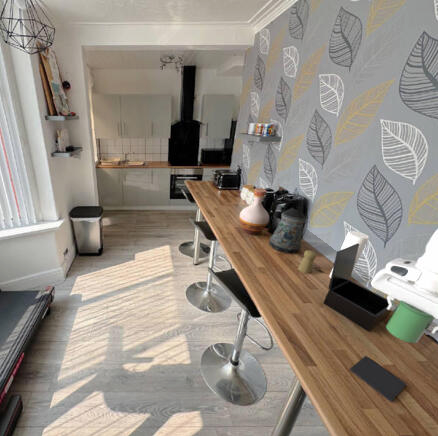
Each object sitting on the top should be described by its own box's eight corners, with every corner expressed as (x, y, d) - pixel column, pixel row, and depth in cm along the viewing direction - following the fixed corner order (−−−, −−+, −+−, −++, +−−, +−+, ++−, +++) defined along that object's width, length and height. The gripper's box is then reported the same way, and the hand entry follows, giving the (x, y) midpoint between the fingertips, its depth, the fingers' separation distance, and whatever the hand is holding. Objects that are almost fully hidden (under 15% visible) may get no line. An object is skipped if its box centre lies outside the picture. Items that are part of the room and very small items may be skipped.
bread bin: (386, 318, 92) (395, 303, 89) (367, 333, 86) (376, 317, 83) (342, 293, 105) (348, 279, 102) (322, 304, 98) (328, 289, 95)
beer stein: (271, 251, 137) (282, 211, 127) (266, 236, 154) (275, 200, 144) (302, 256, 133) (317, 215, 122) (294, 240, 150) (306, 204, 140)
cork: (299, 265, 125) (306, 247, 120) (312, 270, 121) (320, 252, 116) (296, 269, 121) (302, 251, 116) (309, 275, 117) (317, 256, 112)
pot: (423, 338, 64) (443, 310, 60) (413, 348, 61) (433, 320, 57) (390, 319, 70) (406, 293, 66) (379, 328, 67) (396, 301, 63)
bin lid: (359, 244, 96) (357, 243, 97) (339, 252, 90) (336, 251, 90) (350, 279, 101) (348, 278, 102) (330, 289, 95) (328, 288, 95)
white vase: (237, 223, 171) (245, 183, 159) (263, 228, 165) (274, 187, 153) (236, 235, 154) (245, 191, 142) (265, 240, 148) (278, 195, 136)
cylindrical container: (333, 283, 111) (354, 237, 101) (326, 274, 118) (344, 230, 108) (350, 285, 110) (373, 239, 100) (341, 276, 117) (362, 231, 107)
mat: (406, 385, 69) (406, 384, 69) (391, 402, 65) (391, 401, 65) (365, 356, 77) (365, 355, 77) (349, 369, 73) (350, 368, 73)
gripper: (511, 302, 51) (473, 346, 56) (390, 255, 67) (369, 293, 73) (504, 312, 48) (465, 357, 54) (379, 260, 65) (359, 299, 70)
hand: (409, 320), depth 64 cm, fingers closed on pot, 6 cm apart
